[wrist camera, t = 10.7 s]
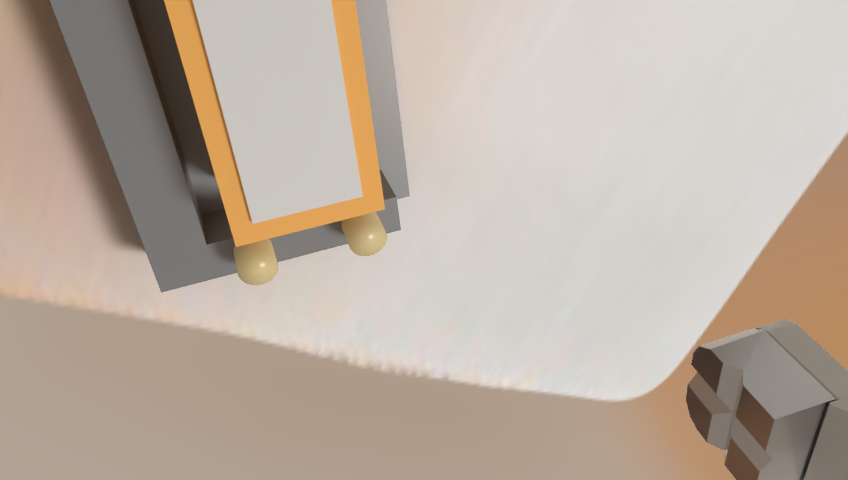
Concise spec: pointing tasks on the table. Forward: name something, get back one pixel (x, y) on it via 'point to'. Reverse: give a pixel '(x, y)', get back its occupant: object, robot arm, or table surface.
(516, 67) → the table surface
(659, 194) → the table surface
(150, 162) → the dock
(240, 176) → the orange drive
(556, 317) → the table surface
